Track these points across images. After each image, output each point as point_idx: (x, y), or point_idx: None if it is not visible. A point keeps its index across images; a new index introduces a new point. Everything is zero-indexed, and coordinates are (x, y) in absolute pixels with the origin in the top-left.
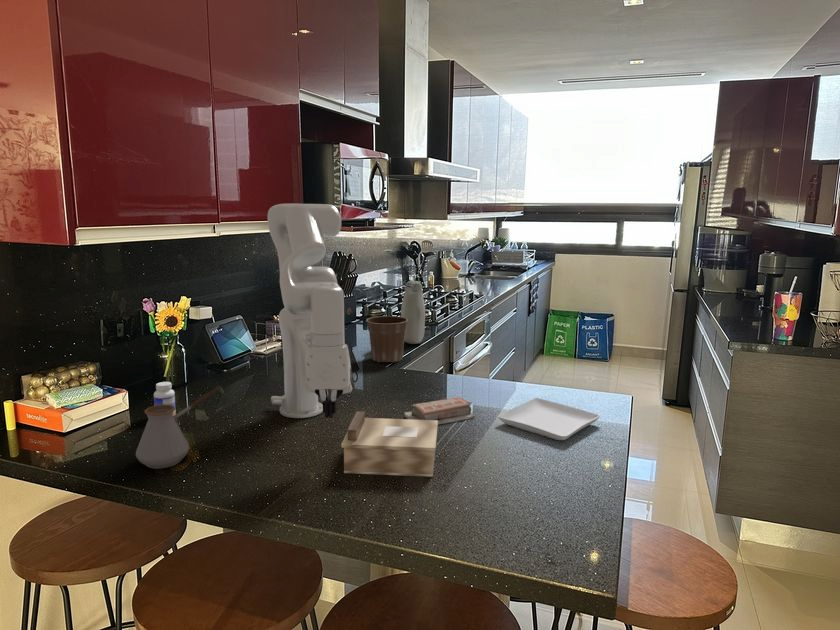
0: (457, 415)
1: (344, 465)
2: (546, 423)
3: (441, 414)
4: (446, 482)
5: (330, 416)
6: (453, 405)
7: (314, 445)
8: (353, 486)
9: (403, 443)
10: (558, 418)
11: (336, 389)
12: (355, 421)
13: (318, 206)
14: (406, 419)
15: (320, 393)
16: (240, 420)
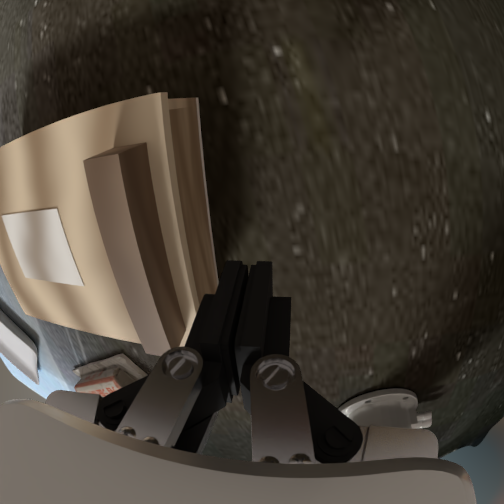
0: (87, 374)
1: (188, 98)
2: (8, 333)
3: (97, 376)
4: (5, 130)
5: (234, 263)
6: (87, 390)
7: (340, 278)
8: (152, 30)
9: (5, 168)
10: (8, 342)
11: (77, 421)
12: (128, 265)
13: None
14: (70, 326)
15: (300, 421)
16: (483, 362)
